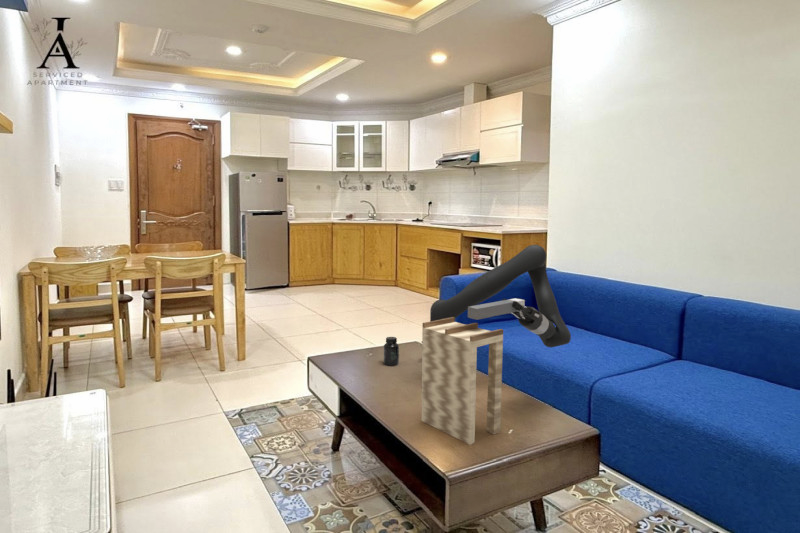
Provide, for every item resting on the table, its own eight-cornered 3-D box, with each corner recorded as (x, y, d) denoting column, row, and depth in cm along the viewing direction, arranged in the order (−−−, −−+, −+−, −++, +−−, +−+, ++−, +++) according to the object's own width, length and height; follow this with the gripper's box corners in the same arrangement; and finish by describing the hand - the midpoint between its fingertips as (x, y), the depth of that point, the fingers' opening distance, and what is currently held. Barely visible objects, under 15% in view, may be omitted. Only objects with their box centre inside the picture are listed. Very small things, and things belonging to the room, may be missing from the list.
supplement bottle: (381, 362, 237) (381, 336, 235) (395, 361, 239) (396, 335, 238) (386, 367, 230) (386, 340, 229) (401, 365, 233) (401, 339, 231)
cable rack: (421, 420, 174) (422, 322, 170) (451, 410, 183) (452, 317, 179) (469, 444, 158) (472, 336, 153) (500, 431, 166) (503, 329, 162)
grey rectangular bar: (467, 317, 168) (467, 306, 167) (515, 308, 183) (515, 298, 182) (476, 319, 165) (477, 308, 164) (524, 310, 180) (524, 300, 179)
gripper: (521, 308, 194) (495, 289, 183) (554, 314, 183) (529, 295, 172) (514, 326, 192) (488, 308, 182) (547, 334, 181) (521, 316, 171)
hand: (508, 302), depth 177 cm, fingers closed on grey rectangular bar, 4 cm apart
